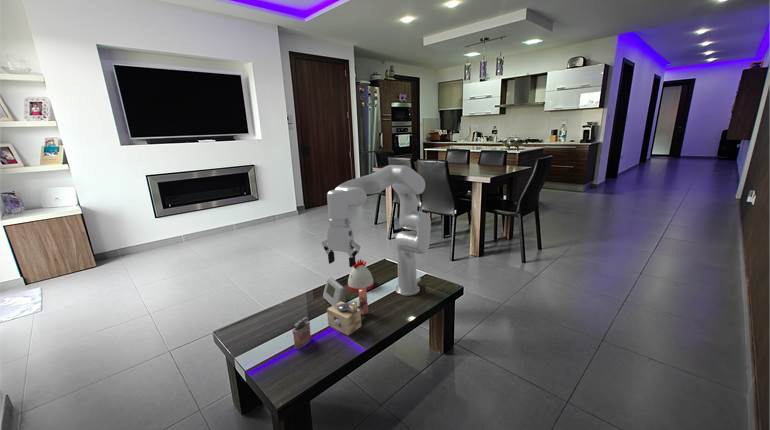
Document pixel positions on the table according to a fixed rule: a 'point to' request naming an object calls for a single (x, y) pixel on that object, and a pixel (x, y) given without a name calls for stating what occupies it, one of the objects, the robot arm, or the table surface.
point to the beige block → (344, 319)
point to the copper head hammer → (362, 304)
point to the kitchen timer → (360, 277)
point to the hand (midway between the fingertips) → (341, 264)
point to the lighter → (301, 333)
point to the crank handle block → (346, 308)
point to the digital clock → (334, 292)
